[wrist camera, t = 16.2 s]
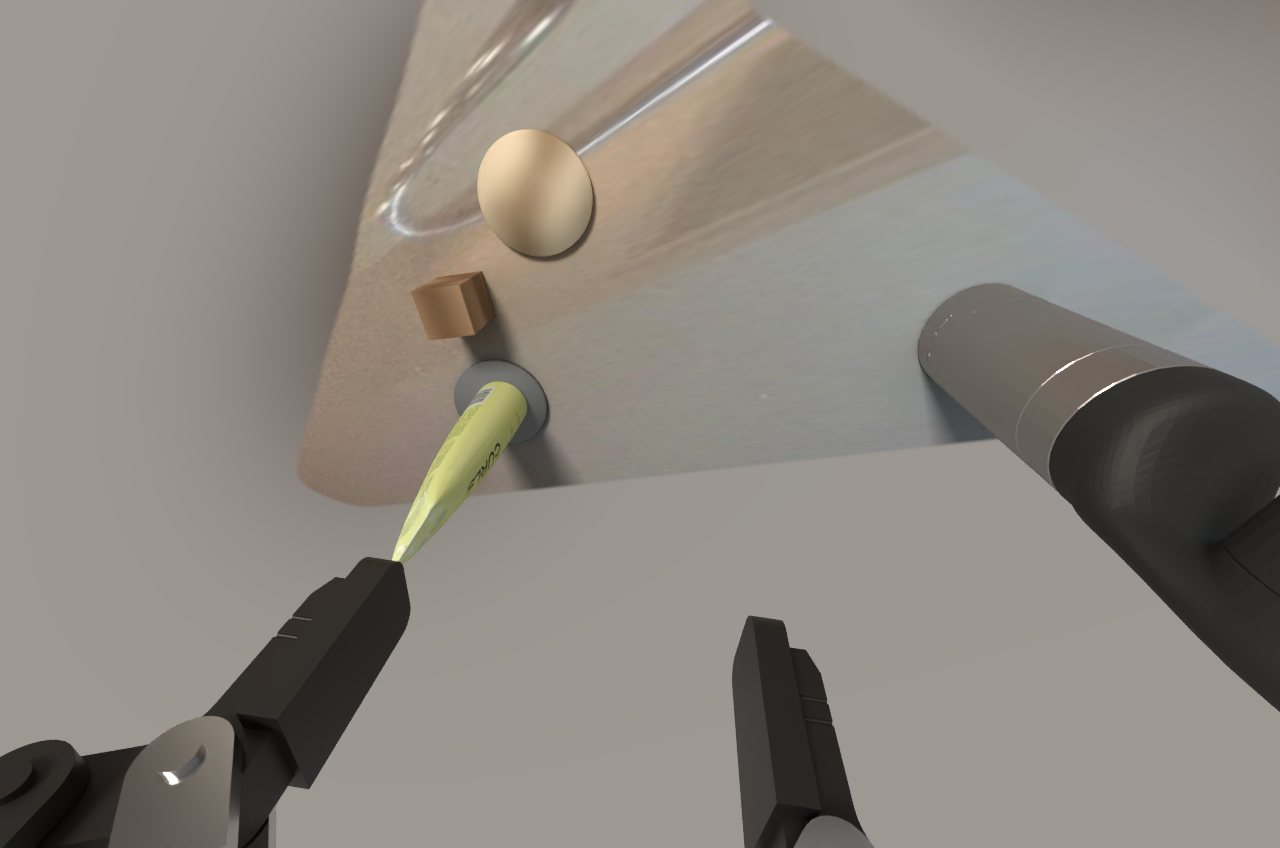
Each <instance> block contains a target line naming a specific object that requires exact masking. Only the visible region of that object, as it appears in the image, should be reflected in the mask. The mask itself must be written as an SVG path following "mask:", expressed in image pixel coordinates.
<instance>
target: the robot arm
mask: <svg viewBox="0 0 1280 848" xmlns="http://www.w3.org/2000/svg"><path fill="white" fill-rule="evenodd" d="M918 355H919V361H920V363H921V366H922V368H923V370H924V371H925V372H926V373H927V375H928V376H929V377H930V378H931V379H932V380H933V381H935V382H936V383H937V384H938V385H939V386H940V387H941V388H942V389H943V390H945V391H946V392H947V393H948V394H949V395H950V396H951V397H952V398H953V399H954V400H955V401H957V402H958V403H959V404H960V405H961V406H962V407H963V408H964V409H965V410H967V411H968V412H969V413H970V414H971V415H972V416H973V417H974V418H976V419H977V420H978V421H979V422H980V423H981V424H982V425H983V426H985V427H986V428H987V429H988V430H989V431H990V432H991V433H992V434H993V435H995V436H996V437H997V438H998V439H999V440H1000V441H1001V442H1003V443H1004V444H1005V445H1006V446H1007V447H1008V448H1009V449H1010V450H1012V452H1014V453H1015V454H1016V455H1017V456H1018V457H1019V458H1020V459H1022V460H1023V461H1024V462H1025V463H1026V464H1027V465H1028V466H1029V467H1030V468H1032V469H1033V470H1034V471H1035V472H1036V473H1037V474H1039V475H1040V476H1041V477H1042V478H1043V479H1044V480H1045V481H1046V482H1047V483H1049V484H1050V485H1051V486H1052V487H1053V488H1054V489H1055V490H1057V491H1058V492H1059V493H1060V495H1061V496H1062V497H1064V498H1065V499H1066V500H1067V501H1068V502H1069V503H1070V504H1072V506H1073V508H1074V509H1075V511H1076V512H1077V514H1078V515H1079V516H1080V517H1081V519H1082V520H1083V521H1084V522H1085V523H1086V524H1087V525H1088V526H1089V527H1090V528H1091V529H1092V530H1093V531H1094V532H1095V533H1096V534H1097V535H1098V536H1099V537H1100V538H1101V539H1102V540H1103V541H1104V542H1105V543H1106V544H1108V545H1109V546H1110V547H1111V548H1112V549H1113V550H1114V551H1115V552H1116V553H1117V554H1118V555H1119V556H1120V557H1121V558H1122V559H1123V560H1124V561H1125V562H1126V563H1127V564H1128V565H1129V566H1130V567H1131V568H1132V569H1133V570H1134V571H1135V572H1136V573H1137V574H1138V575H1139V576H1140V577H1141V578H1142V579H1143V580H1144V582H1146V583H1147V585H1148V586H1149V587H1150V588H1151V589H1152V590H1153V591H1154V592H1155V593H1156V594H1157V595H1158V596H1159V597H1160V598H1161V599H1162V600H1163V601H1164V602H1165V603H1166V605H1168V607H1169V608H1170V609H1171V610H1172V611H1173V612H1174V613H1175V614H1176V615H1177V616H1178V617H1179V618H1180V619H1181V620H1182V621H1183V622H1184V623H1185V624H1186V625H1187V626H1188V628H1189V629H1190V630H1191V631H1192V632H1193V633H1194V634H1195V635H1196V636H1197V637H1198V638H1199V639H1200V640H1201V641H1202V642H1203V643H1205V645H1207V646H1208V647H1209V648H1210V649H1211V650H1212V651H1213V652H1214V653H1215V654H1216V655H1217V656H1218V657H1219V658H1220V659H1221V660H1222V661H1223V662H1224V663H1225V664H1226V665H1227V666H1228V667H1229V668H1230V669H1231V670H1232V671H1233V672H1235V673H1236V674H1237V675H1238V676H1239V677H1240V678H1241V679H1243V680H1244V681H1245V682H1246V683H1247V684H1248V685H1249V686H1250V687H1252V688H1253V689H1254V690H1255V691H1256V692H1257V693H1258V694H1260V695H1261V696H1262V697H1263V698H1264V699H1265V700H1267V701H1268V702H1269V703H1270V704H1271V705H1272V706H1274V707H1275V708H1276V709H1277V710H1278V711H1279V712H1280V495H1279V496H1278V497H1276V498H1275V495H1276V493H1277V491H1278V489H1279V487H1280V402H1279V401H1278V400H1277V399H1276V398H1274V397H1273V396H1272V395H1271V394H1269V393H1268V392H1266V391H1264V390H1262V389H1260V388H1258V387H1256V386H1254V385H1252V384H1250V383H1248V382H1246V381H1243V380H1241V379H1238V378H1236V377H1233V376H1231V375H1228V374H1226V373H1223V372H1221V371H1218V370H1216V369H1213V368H1211V367H1208V366H1206V365H1204V364H1201V363H1199V362H1196V361H1194V360H1191V359H1189V358H1186V357H1184V356H1181V355H1179V354H1177V353H1174V352H1172V351H1169V350H1166V349H1163V348H1161V347H1158V346H1156V345H1154V344H1151V343H1149V342H1146V341H1144V340H1141V339H1139V338H1136V337H1134V336H1131V335H1129V334H1127V333H1124V332H1122V331H1119V330H1117V329H1114V328H1112V327H1109V326H1107V325H1104V324H1102V323H1100V322H1097V321H1095V320H1092V319H1090V318H1087V317H1085V316H1082V315H1080V314H1077V313H1075V312H1073V311H1070V310H1068V309H1065V308H1063V307H1060V306H1058V305H1055V304H1053V303H1050V302H1048V301H1046V300H1044V299H1041V298H1039V297H1036V296H1034V295H1031V294H1029V293H1026V292H1024V291H1021V290H1019V289H1016V288H1014V287H1011V286H1008V285H1002V284H984V285H980V286H976V287H971V288H969V289H967V290H964V291H962V292H960V293H958V294H956V295H955V296H953V297H952V298H950V299H948V300H947V301H946V302H945V303H943V304H942V305H941V306H940V307H939V308H938V309H937V310H936V311H935V312H934V313H933V315H932V316H931V317H930V318H929V320H928V321H927V323H926V325H925V327H924V329H923V330H922V333H921V337H920V340H919V347H918ZM1274 498H1275V499H1274ZM409 616H410V601H409V595H408V590H407V584H406V579H405V574H404V568H403V565H402V563H401V562H399V561H392V560H385V559H379V558H372V557H366V558H364V559H362V560H361V561H360V562H359V563H358V564H357V565H356V566H355V568H354V569H353V570H352V571H351V572H350V574H349V575H348V576H347V577H346V579H344V578H338V577H335V578H334V579H333V580H331V581H329V582H328V583H326V584H325V585H323V586H322V587H320V588H319V589H318V590H316V591H315V592H313V593H312V594H311V595H310V596H309V597H308V598H307V599H306V600H305V601H304V603H303V604H302V605H301V606H300V607H299V608H298V609H297V611H296V612H295V613H294V614H293V617H292V619H289V620H288V621H287V622H286V623H285V624H284V626H283V627H282V628H281V629H280V630H279V631H278V634H277V636H276V637H273V638H272V639H271V641H270V642H269V643H268V644H267V645H266V646H265V648H264V649H263V650H262V651H261V652H260V653H259V654H258V655H257V657H256V658H255V659H254V660H253V661H252V662H251V664H250V665H249V666H248V667H247V668H246V669H245V670H244V672H243V673H242V674H241V675H240V676H239V677H238V678H237V680H236V681H235V682H234V683H233V684H232V685H231V687H230V688H229V689H228V690H227V691H226V692H225V693H224V695H223V696H222V697H221V698H220V699H219V700H218V702H217V703H216V704H215V705H214V706H213V707H212V708H211V709H210V710H209V711H208V712H207V713H206V714H205V715H204V716H202V717H199V718H195V719H191V720H189V721H185V722H184V723H181V724H178V725H176V726H175V727H173V728H171V729H169V730H168V731H166V732H165V733H163V734H161V735H160V736H159V737H158V738H156V739H155V740H154V741H152V742H151V743H150V744H148V745H144V746H138V747H133V748H127V749H121V750H115V751H109V752H104V753H98V754H93V755H86V756H80V755H79V754H78V753H77V752H76V750H75V749H74V748H73V747H72V746H71V745H70V744H69V743H67V742H65V741H61V740H46V741H40V742H36V743H32V744H29V745H26V746H23V747H21V748H18V749H16V750H13V751H11V752H9V753H7V754H5V755H3V756H1V757H0V848H276V807H275V805H276V803H277V802H278V800H279V799H280V797H281V796H282V794H283V793H284V791H285V789H286V788H287V786H293V787H299V788H305V789H309V788H310V787H311V785H312V784H313V782H314V780H315V779H316V777H317V775H318V774H319V772H320V770H321V769H322V767H323V765H324V764H325V762H326V760H327V759H328V757H329V756H330V754H331V752H332V751H333V749H334V747H335V746H336V744H337V742H338V741H339V739H340V737H341V736H342V734H343V732H344V731H345V729H346V727H347V726H348V724H349V722H350V721H351V719H352V717H353V716H354V714H355V712H356V711H357V709H358V708H359V706H360V704H361V703H362V701H363V699H364V698H365V696H366V694H367V693H368V691H369V689H370V688H371V686H372V684H373V683H374V681H375V679H376V678H377V676H378V674H379V673H380V671H381V670H382V668H383V666H384V665H385V663H386V661H387V659H388V658H389V656H390V654H391V653H392V651H393V650H394V648H395V646H396V645H397V643H398V641H399V640H400V638H401V636H402V635H403V633H404V631H405V629H406V626H407V623H408V620H409ZM732 688H733V700H734V714H735V727H736V739H737V753H738V766H739V779H740V792H741V806H742V819H743V832H744V845H745V848H874V846H873V845H872V843H871V842H870V841H869V840H868V838H867V836H866V835H865V833H864V831H863V829H862V827H861V825H860V823H859V821H858V818H857V816H856V812H855V809H854V805H853V801H852V798H851V793H850V789H849V785H848V781H847V777H846V773H845V769H844V765H843V761H842V758H841V753H840V749H839V745H838V741H837V737H836V733H835V729H834V726H832V717H831V713H830V709H829V705H828V704H827V697H826V693H825V689H824V685H823V681H822V677H821V673H820V672H819V670H818V668H817V667H816V665H815V664H814V662H813V661H812V659H811V657H810V656H809V654H808V653H807V651H806V650H803V649H796V648H790V647H789V642H788V637H787V632H786V628H785V625H784V623H783V621H781V620H776V619H769V618H763V617H756V616H748V618H747V620H746V623H745V626H744V629H743V632H742V635H741V638H740V642H739V645H738V648H737V651H736V654H735V658H734V663H733V673H732Z"/></svg>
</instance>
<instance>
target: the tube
mask: <svg viewBox="0 0 1280 848" xmlns="http://www.w3.org/2000/svg"><path fill="white" fill-rule="evenodd" d="M526 413H527V403H526V400H525V397H524V396H523V394H522V393H521V392H520V391H519V390H518V389H517V388H516V387H515V386H513V385H511V384H509V383H506V382H500V381H498V382H491V383H488V384H486V385H485V386H483V387H482V388H481V389H480V391H479V392H478V393H477V395H476V396H475V397H474V399H473V400H472V401H471V403H470V404H469V406H468V407H467V409H466V410H465V411H464V413H463V414H462V416H461V417H460V419H459V420H458V422H457V423H456V425H455V426H454V428H453V429H452V431H451V432H450V434H449V436H448V437H447V439H446V441H445V442H444V444H443V446H442V447H441V449H440V451H439V453H438V454H437V456H436V458H435V460H434V462H433V464H432V466H431V468H430V470H429V472H428V474H427V476H426V478H425V480H424V482H423V484H422V486H421V488H420V490H419V493H418V495H417V497H416V499H415V501H414V503H413V506H412V508H411V510H410V512H409V514H408V517H407V519H406V521H405V524H404V526H403V529H402V532H401V534H400V537H399V539H398V542H397V545H396V548H395V551H394V555H393V558H392V561H399V562H401V563H402V565H403V564H404V563H405V562H406V561H407V560H409V559H410V558H411V557H412V556H413V555H414V554H415V553H417V552H418V551H419V550H420V548H422V547H423V546H424V545H425V544H426V542H427V541H428V540H429V539H430V538H431V537H432V536H433V535H434V534H435V533H436V532H437V531H438V530H439V528H440V527H441V526H442V525H443V524H444V523H445V522H446V521H447V519H448V518H449V517H450V516H451V515H452V514H453V513H454V512H455V510H457V508H458V507H459V506H460V505H461V504H462V503H463V502H464V500H465V499H466V498H467V497H468V496H469V495H470V494H471V493H472V491H473V490H474V489H475V488H476V487H477V485H478V484H479V483H480V482H481V481H482V479H483V478H484V477H485V475H486V474H487V473H488V472H489V470H490V469H491V468H492V466H493V465H494V463H495V462H496V461H497V459H498V458H499V456H500V455H501V454H502V452H503V451H504V449H505V448H506V446H507V445H508V443H509V442H510V440H511V439H512V437H513V436H514V434H515V432H516V431H517V429H518V427H519V426H520V424H521V423H522V421H523V419H524V417H525V415H526Z"/></svg>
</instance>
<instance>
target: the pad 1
mask: <svg viewBox="0 0 1280 848" xmlns="http://www.w3.org/2000/svg"><path fill="white" fill-rule="evenodd" d="M478 198H479V203H480V206H481V209H482V212H483V215H484V217H485V219H486V221H487V223H488V224H489V226H490V228H491V229H492V230H493V232H494V233H495V234H496V235H497V236H498V237H499V238H500V239H501V240H502V241H503V242H504V243H505V244H506V245H508V246H509V247H511V248H512V249H514V250H516V251H518V252H521V253H523V254H526V255H531V256H539V257H543V256H551V255H555V254H558V253H561V252H563V251H564V250H566V249H568V248H569V247H571V246H572V245H573V244H574V243H575V242H576V241H577V240H578V239H579V238H580V237H581V235H582V234H583V233H584V231H585V229H586V227H587V225H588V223H589V220H590V217H591V213H592V206H593V193H592V186H591V181H590V178H589V175H588V172H587V170H586V168H585V166H584V164H583V162H582V161H581V159H580V157H579V156H578V155H577V154H576V152H575V151H574V150H573V149H572V148H571V147H570V146H569V145H568V144H567V143H565V142H564V141H563V140H561V139H560V138H558V137H556V136H554V135H552V134H550V133H547V132H543V131H539V130H530V129H526V130H518V131H514V132H511V133H509V134H507V135H505V136H503V137H501V138H500V139H499V140H497V141H496V142H495V143H494V144H493V145H492V146H491V147H490V149H489V150H488V151H487V153H486V155H485V156H484V159H483V161H482V163H481V166H480V170H479V175H478Z"/></svg>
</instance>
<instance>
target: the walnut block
mask: <svg viewBox="0 0 1280 848" xmlns="http://www.w3.org/2000/svg"><path fill="white" fill-rule="evenodd" d="M411 293H412V296H413V299H414V301H415V304H416V307H417V309H418V312H419V315H420V318H421V320H422V323H423V326H424V328H425V331H426V334H427V336H428V339H429V340H436V339H445V338H453V337H461V336H469V335H475V334H476V333H477V332H479V331H480V330H481V329H482V328H483V327H484V326H485V325H486V324H487V323H489V322H490V321H491V320H492V319H493V318H494V317H495V315H494V311H493V308H492V304H491V301H490V297H489V294H488V291H487V287H486V284H485V280H484V277H483V274H482V271H480V272H473V273H466V274H459V275H452V276H444V277H438V278H436V279H434V280H432V281H430V282H429V283H427V284H425V285H423V286H421V287H419V288H417V289H415V290H413V291H412V292H411Z"/></svg>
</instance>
